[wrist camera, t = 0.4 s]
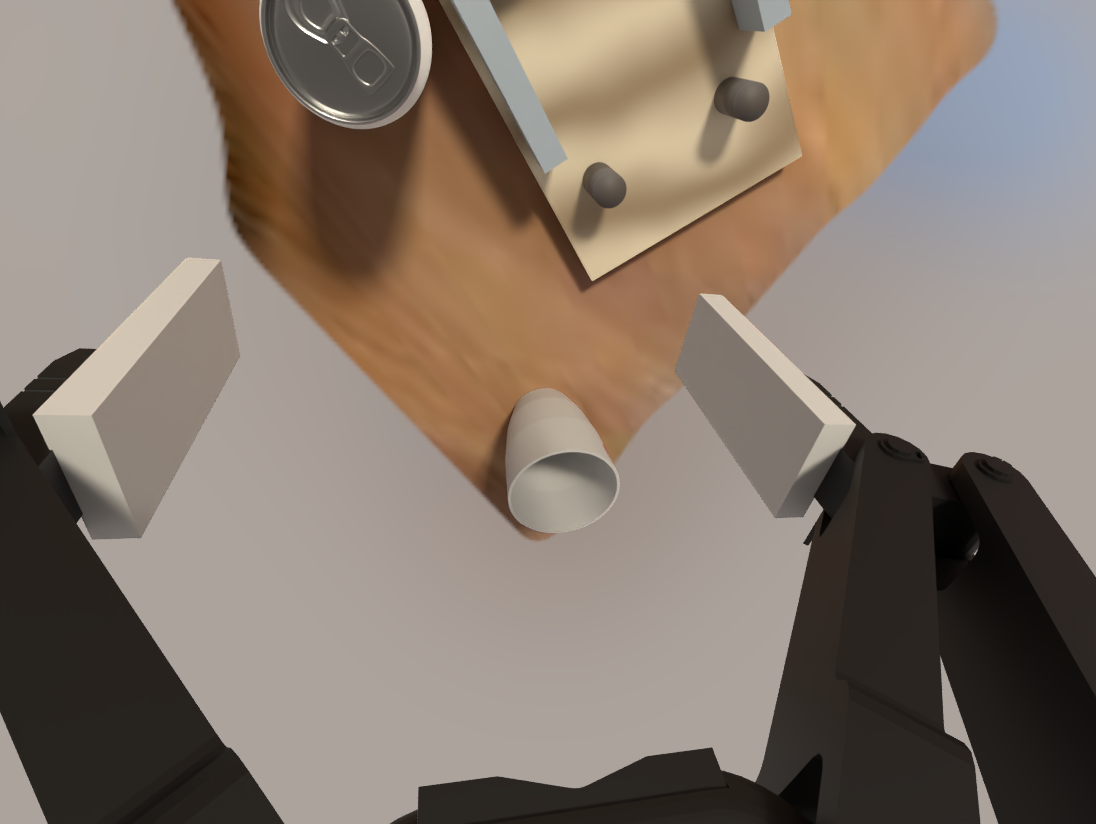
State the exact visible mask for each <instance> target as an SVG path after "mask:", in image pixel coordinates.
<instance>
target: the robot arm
mask: <svg viewBox="0 0 1096 824" xmlns="http://www.w3.org/2000/svg"><path fill="white" fill-rule="evenodd" d="M239 357H240V353H239V348H238V343H237V338H236V333H235V328H234V323H233V318H232V313H231V308H230V303H229V298H228V293H227V288H226V283H225V278H224V273H223V268H222V263H221V260H214V259H200V258H186V259H185V260H184V261H183V262H182V263H181V264H180V265H179V266H178V267H177V268H176V269H175V270H174V271H173V272H172V273H171V274H170V275H169V276H168V277H167V278H166V279H165V280H164V281H163V282H162V283H161V284H160V285H159V286H158V287H157V288H156V289H155V290H154V292H153V293H151V294H150V295H149V297H148V298H147V299H146V300H145V301H144V302H143V303H142V304H141V305H140V306H139V307H138V308H137V309H136V310H135V311H134V312H133V313H132V314H131V315H130V316H129V317H128V318H127V319H126V320H125V321H124V322H123V323H122V324H121V325H120V326H119V327H118V328H117V329H116V330H115V331H114V332H113V333H112V334H111V335H110V336H109V338H107V339H106V340H105V341H104V342H103V343H102V344H101V345H100V347H99V348H98V349H77V350H75V351H73V352H71V353H69V354H67V355H65V356H63V357H61V358H59V359H57V360H55V361H53V362H52V363H51V364H50V365H49V366H48V367H47V368H46V369H45V370H44V371H42V372H41V373H40V374H39V375H38V379H34V380H33V381H32V382H31V383H30V384H28V385H27V386H26V387H25V391H24V392H22V391H21V392H20V393H19V394H18V395H17V396H16V397H15V398H14V399H12V400H11V401H10V402H9V403H8V404H7V405H6V406H5V407H4V408H3V406H2V404H1V402H0V713H1V715H2V717H3V720H4V722H5V724H6V727H7V729H8V731H9V734H10V736H11V738H12V741H13V743H14V745H15V748H16V750H17V752H18V755H19V757H20V760H21V762H22V764H23V767H24V769H25V771H26V774H27V776H28V778H29V781H30V783H31V785H32V788H33V790H34V792H35V795H36V797H37V799H38V802H39V804H40V806H41V809H42V811H43V813H44V816H45V818H46V820H47V822H48V824H284V823H283V821H282V820H281V818H280V817H279V815H278V814H277V812H276V811H275V809H274V808H273V806H272V805H271V803H270V802H269V800H268V799H267V797H266V796H265V795H264V793H263V792H262V790H261V789H260V787H259V786H258V784H257V783H256V781H255V780H254V778H253V777H252V775H251V774H250V772H249V771H248V770H247V768H246V767H245V765H244V764H243V762H242V761H241V760H240V758H239V757H238V756H237V754H236V753H235V752H234V751H233V750H232V749H231V748H228V747H226V746H225V745H224V744H223V742H222V741H221V740H220V738H219V737H218V735H217V734H216V733H215V731H214V729H213V728H212V726H211V725H210V723H209V722H208V720H207V719H206V717H205V716H204V714H203V713H202V711H201V710H200V708H199V707H198V705H197V704H196V703H195V701H194V699H193V698H192V696H191V695H190V693H189V692H188V690H187V689H186V688H185V686H184V684H183V683H182V681H181V680H180V678H179V677H178V675H177V674H176V672H175V671H174V670H173V668H172V666H171V665H170V663H169V662H168V661H167V659H166V657H165V656H164V654H163V653H162V651H161V650H160V648H159V647H158V646H157V644H156V642H155V641H154V639H153V638H152V636H151V635H150V633H149V632H148V630H147V629H146V627H145V626H144V624H143V623H142V621H141V620H140V619H139V617H138V615H137V614H136V613H135V611H134V609H133V608H132V606H131V605H130V604H129V602H128V600H127V599H126V597H125V596H124V594H123V593H122V591H121V590H120V588H119V587H118V585H117V584H116V582H115V581H114V579H113V578H112V576H111V575H110V573H109V572H108V570H107V569H106V567H105V566H104V564H103V563H102V561H101V560H100V558H99V557H98V555H97V554H96V552H95V551H94V549H93V548H92V546H91V545H90V543H89V542H88V540H87V539H86V537H85V536H84V534H83V533H82V531H81V530H80V528H79V527H78V525H77V524H76V523H77V522H78V520H79V519H80V518H81V517H82V519H83V521H84V523H85V525H86V527H87V530H88V532H89V534H90V536H91V538H92V539H121V538H141V537H142V535H143V533H144V531H145V529H146V528H147V526H148V524H149V522H150V520H151V518H152V516H153V515H154V513H155V511H156V509H157V507H158V506H159V504H160V502H161V500H162V498H163V496H164V495H165V493H166V491H167V489H168V487H169V485H170V484H171V482H172V480H173V478H174V476H175V474H176V472H177V471H178V469H179V467H180V465H181V463H182V461H183V460H184V458H185V456H186V454H187V452H188V451H189V449H190V447H191V445H192V443H193V441H194V440H195V438H196V436H197V434H198V432H199V430H200V429H201V426H202V425H203V423H204V421H205V419H206V418H207V415H208V414H209V412H210V410H211V408H212V406H213V404H214V403H215V401H216V399H217V397H218V396H219V394H220V392H221V390H222V388H223V386H224V385H225V383H226V381H227V379H228V377H229V375H230V374H231V372H232V370H233V368H234V366H235V364H236V363H237V361H238V359H239ZM675 372H676V374H677V375H678V377H679V378H680V380H681V381H682V383H683V384H684V386H685V387H686V389H687V390H688V391H689V393H690V394H691V396H692V397H693V399H694V400H695V402H696V403H697V405H698V406H699V407H700V409H701V410H702V412H703V413H704V415H705V416H706V418H707V419H708V421H709V422H710V424H711V425H712V427H713V428H714V429H715V431H716V432H717V433H718V435H719V437H720V438H721V440H722V441H723V443H724V444H725V446H726V447H727V448H728V450H729V451H730V453H731V454H732V456H733V457H734V459H735V460H736V462H737V463H738V464H739V466H740V467H741V469H742V470H743V472H744V473H745V475H746V476H747V478H748V479H749V480H750V482H751V484H752V485H753V486H754V488H755V489H756V491H757V492H758V494H759V495H760V497H761V498H762V500H763V501H764V503H765V504H766V505H767V507H768V508H769V510H770V511H771V512H772V514H773V516H774V517H775V518H784V517H785V518H787V517H803V516H804V515H805V513H806V511H807V509H808V508H809V506H810V504H811V503H812V501H813V499H814V498H816V500H817V501H818V502H819V504H820V505H821V506H822V508H823V509H824V510H823V512H822V513H821V515H820V516H819V518H818V520H817V522H816V523H815V525H814V526H813V528H812V530H811V531H810V533H809V535H808V536H807V538H806V540H805V541H804V544H806V545H809V544H810V542H811V541H812V544H811V549H810V553H809V557H808V562H807V567H806V571H805V576H804V580H803V585H802V589H801V594H800V598H799V603H798V607H797V612H796V616H795V621H794V625H793V630H792V634H791V639H790V643H789V648H788V652H787V657H786V661H785V666H784V671H783V675H782V680H781V684H780V688H779V693H778V697H777V702H776V706H775V711H774V716H773V721H772V725H771V729H770V734H769V738H768V743H767V747H766V752H765V756H764V760H763V764H762V767H761V770H760V773H759V776H758V778H757V780H756V782H753V781H750V780H748V779H746V778H743V777H742V776H738V775H735V774H732V773H729V772H726V771H721V770H720V767H719V764H718V762H717V759H716V757H715V754H714V751H713V749H712V748H705V749H698V750H691V751H683V752H676V753H668V754H661V755H653V756H647V757H644V758H642V759H641V760H638V761H636V762H634V763H632V764H630V765H628V766H626V767H624V768H622V769H620V770H618V771H616V772H614V773H612V774H610V775H608V776H606V777H604V778H602V779H600V780H597V781H596V782H593V783H591V784H589V785H587V786H585V787H582V788H566V787H560V786H554V785H548V784H541V783H535V782H529V781H523V780H516V779H510V778H504V777H489V778H482V779H475V780H467V781H460V782H453V783H446V784H437V785H430V786H423V787H419V791H418V792H419V793H418V810H415V811H413V812H411V813H409V814H407V815H405V816H403V817H401V818H398V819H397V820H395V821H394V822H392V823H390V824H980V815H979V805H978V794H977V784H976V773H975V765H974V761H973V757H972V753H971V751H970V750H969V749H968V747H967V746H966V745H965V743H963V742H961V741H960V740H958V739H956V738H954V737H952V736H950V735H948V734H946V733H945V730H944V720H943V701H942V682H941V664H940V656H941V658H942V662H943V665H944V667H945V670H946V673H947V676H948V679H949V682H950V685H951V688H952V691H953V693H954V697H955V699H956V702H957V705H958V708H959V711H960V714H961V717H962V719H963V723H964V725H965V728H966V731H967V734H968V737H969V740H970V743H971V746H972V748H973V752H974V755H975V757H976V760H977V763H978V766H979V769H980V772H981V775H982V778H983V781H984V784H985V786H986V789H987V792H988V795H989V798H990V801H991V804H992V807H993V809H994V813H995V815H996V818H997V821H998V824H1096V577H1095V575H1094V574H1093V572H1092V571H1091V570H1090V568H1089V567H1088V565H1087V564H1086V562H1085V561H1084V560H1083V558H1082V557H1081V555H1080V554H1079V553H1078V551H1077V550H1076V548H1075V547H1074V545H1073V544H1072V543H1071V541H1070V540H1069V538H1068V537H1067V535H1066V534H1065V533H1064V531H1063V530H1062V528H1061V527H1060V525H1059V524H1058V523H1057V521H1056V520H1055V518H1054V517H1053V515H1052V514H1051V513H1050V511H1049V510H1048V508H1047V507H1046V505H1045V504H1044V503H1043V501H1042V500H1041V498H1040V497H1039V495H1038V494H1037V493H1036V491H1035V490H1034V488H1033V487H1032V486H1031V484H1030V483H1029V481H1028V480H1027V479H1026V478H1025V477H1024V476H1023V475H1022V474H1021V473H1020V472H1019V471H1018V470H1016V469H1015V468H1013V467H1012V465H1011V464H1009V463H1007V462H1005V461H1002V459H999V458H997V457H991V456H988V455H985V454H981V453H975V452H969V453H965V454H964V455H963V456H962V457H961V458H960V459H959V461H958V462H957V463H956V465H955V466H954V467H953V468H949V467H944V466H940V465H935V464H930V462H929V460H928V458H927V456H926V455H925V454H924V453H923V452H922V451H921V450H920V449H918V448H917V447H915V446H914V445H912V444H911V443H910V442H907V441H905V440H903V439H901V438H899V437H896V436H892V435H889V434H883V433H873V434H872V433H871V432H870V431H869V430H868V429H867V428H866V427H865V426H864V425H863V424H862V423H860V422H859V420H857V419H856V418H855V417H854V416H853V415H852V414H851V413H850V412H849V411H848V410H847V409H846V408H845V407H841V403H840V402H838V401H837V400H836V399H835V398H834V397H831V396H832V395H831V394H830V393H829V392H828V391H827V390H826V389H825V388H824V387H823V386H822V385H821V384H820V383H818V382H816V381H815V380H813V379H811V378H810V377H808V376H806V375H805V374H803V373H802V372H801V371H800V370H799V369H798V368H797V367H796V366H795V365H794V364H793V363H792V362H790V360H789V359H788V358H787V357H785V355H783V354H782V353H781V352H780V351H779V350H778V349H777V348H776V347H775V346H774V345H773V344H772V343H771V342H770V341H769V340H768V339H767V338H766V337H765V336H764V335H763V334H762V333H761V332H760V331H759V330H758V329H757V328H756V327H754V326H753V325H752V324H751V323H750V322H749V321H748V320H747V319H746V318H745V317H744V316H743V315H742V314H741V313H740V312H739V311H738V310H737V309H736V308H735V307H734V306H733V305H732V304H731V303H730V302H729V301H728V300H727V299H726V298H725V297H723V296H722V295H713V294H699V296H698V299H697V302H696V306H695V309H694V312H693V315H692V318H691V321H690V324H689V328H688V331H687V334H686V337H685V340H684V343H683V346H682V349H681V353H680V356H679V359H678V362H677V365H676V368H675ZM977 549H978V551H977V553H976V555H974V553H975V552H976V550H977Z"/></svg>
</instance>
